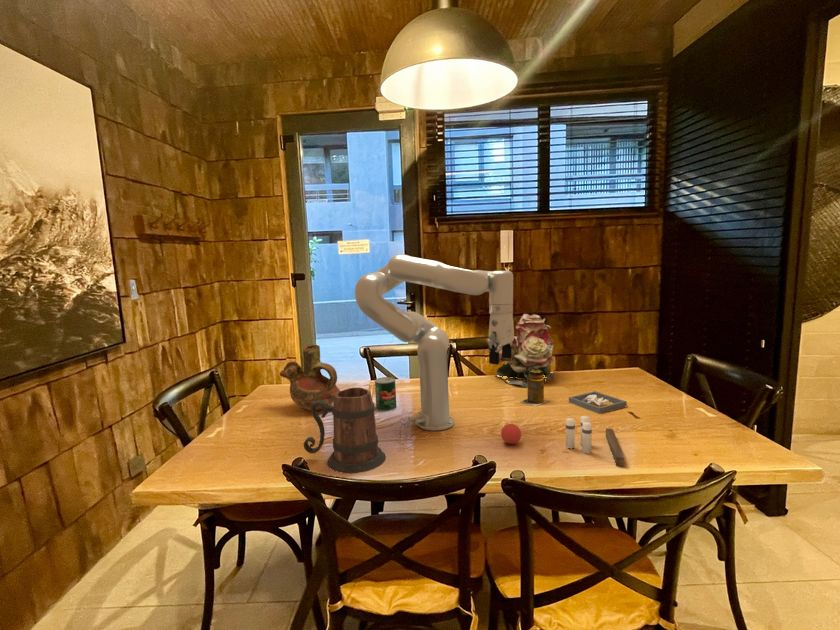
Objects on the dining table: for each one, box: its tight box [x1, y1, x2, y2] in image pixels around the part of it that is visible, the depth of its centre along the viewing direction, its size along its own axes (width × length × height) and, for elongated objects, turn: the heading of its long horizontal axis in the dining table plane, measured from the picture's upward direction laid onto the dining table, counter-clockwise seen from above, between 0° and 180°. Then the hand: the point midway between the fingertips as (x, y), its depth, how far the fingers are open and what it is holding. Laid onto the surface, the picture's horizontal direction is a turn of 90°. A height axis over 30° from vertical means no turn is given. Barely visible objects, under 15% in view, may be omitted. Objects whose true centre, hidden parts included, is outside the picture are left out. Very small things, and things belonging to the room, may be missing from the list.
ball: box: [500, 423, 522, 445], centre depth 136 cm, size 6×6×6 cm
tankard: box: [303, 386, 387, 474], centre depth 129 cm, size 24×17×20 cm
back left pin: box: [580, 415, 591, 446], centre depth 133 cm, size 2×2×8 cm
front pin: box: [565, 417, 576, 450], centre depth 132 cm, size 2×2×8 cm
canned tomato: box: [374, 376, 397, 412], centre depth 172 cm, size 8×8×11 cm
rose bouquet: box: [494, 313, 555, 389], centre depth 201 cm, size 26×29×30 cm
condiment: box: [520, 370, 549, 407], centre depth 172 cm, size 7×8×12 cm
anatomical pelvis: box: [581, 394, 609, 407], centre depth 167 cm, size 8×4×7 cm
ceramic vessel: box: [279, 344, 341, 412], centre depth 174 cm, size 17×26×25 cm, turn 76°
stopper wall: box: [605, 428, 626, 467], centre depth 129 cm, size 2×20×2 cm, turn 165°
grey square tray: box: [568, 390, 628, 415], centre depth 167 cm, size 14×15×2 cm
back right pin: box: [581, 422, 593, 455], centre depth 128 cm, size 2×2×8 cm
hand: (500, 360), depth 148 cm, fingers open, 9 cm apart
